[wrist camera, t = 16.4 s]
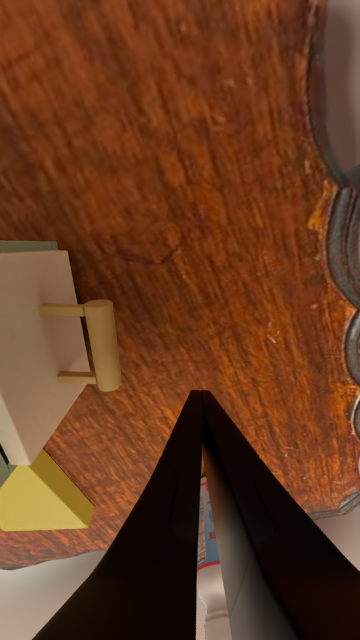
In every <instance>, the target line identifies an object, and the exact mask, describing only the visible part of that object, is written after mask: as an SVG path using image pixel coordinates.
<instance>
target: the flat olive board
mask: <svg viewBox="0 0 360 640" xmlns="http://www.w3.org/2000/svg"><path fill="white" fill-rule="evenodd" d="M94 509H95V507H94V506H93V505H92V504H91V502H90V501H89V500H88V499H87V498H86V497H85V496H84V494H83V493H82V492H81V491H80V490H79V489H78V488H77V487H76V485H75V484H74V483H73V482H72V481H71V480H70V479H69V477H68V476H67V475H66V474H65V473H64V472H63V471H62V470H61V468H60V467H59V466H58V465H57V464H56V463H55V462H54V460H53V459H52V458H51V457H50V456H49V455H48V454H47V453H46V451H45V450H44V449H43V448H42V449H41V451H40V452H39V454H38V455H37V457H36V458H35V460H34V461H33V462H32V464H31V465H18V466H17V467H16V468H15V470H14V471H13V472H12V473H11V475H10V476H9V478H8V479H7V480H6V482H5V483H4V484H3V486H2V487H1V488H0V528H1V529H2V530H4V531H26V530H50V529H75V528H88V527H89V524H90V521H91V518H92V515H93V512H94Z"/></svg>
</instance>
